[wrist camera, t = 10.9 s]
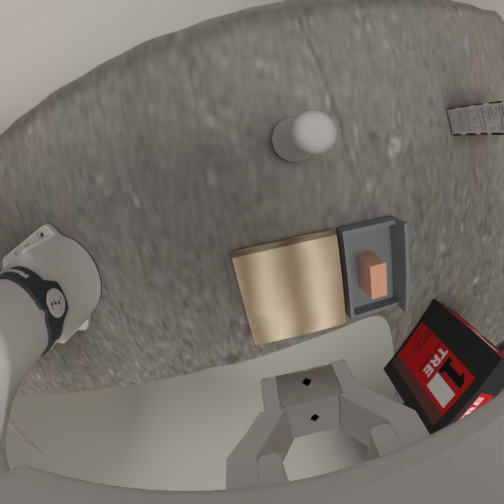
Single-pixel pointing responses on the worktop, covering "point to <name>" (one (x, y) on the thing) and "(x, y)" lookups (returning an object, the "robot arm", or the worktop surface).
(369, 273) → the terracotta tile
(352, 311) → the tray
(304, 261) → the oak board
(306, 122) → the salt shaker
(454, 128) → the candy bar box
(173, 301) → the worktop surface
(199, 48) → the worktop surface
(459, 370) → the cleaning product box
